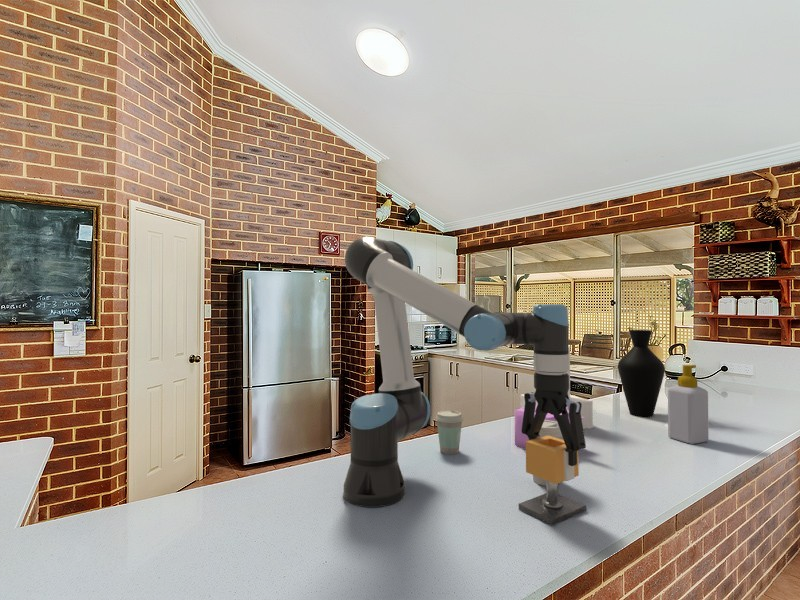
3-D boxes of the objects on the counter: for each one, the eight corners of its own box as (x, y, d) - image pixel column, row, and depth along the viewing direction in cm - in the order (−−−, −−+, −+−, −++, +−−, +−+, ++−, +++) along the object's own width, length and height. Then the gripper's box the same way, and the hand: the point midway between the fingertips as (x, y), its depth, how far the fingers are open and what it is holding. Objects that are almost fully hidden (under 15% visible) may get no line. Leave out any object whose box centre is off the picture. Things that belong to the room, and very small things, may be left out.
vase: (628, 407, 192) (627, 328, 192) (672, 415, 179) (671, 330, 179) (610, 414, 181) (610, 330, 181) (655, 422, 168) (654, 332, 168)
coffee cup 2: (540, 490, 108) (540, 430, 108) (520, 476, 117) (519, 420, 117) (573, 486, 111) (573, 427, 111) (551, 472, 120) (550, 417, 120)
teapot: (570, 463, 126) (570, 415, 126) (503, 441, 146) (502, 400, 147) (598, 452, 135) (597, 407, 136) (531, 433, 156) (530, 394, 156)
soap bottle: (710, 442, 145) (709, 366, 145) (692, 445, 141) (691, 368, 142) (684, 434, 153) (683, 363, 153) (666, 437, 150) (665, 364, 150)
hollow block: (555, 484, 93) (555, 451, 93) (526, 472, 99) (525, 441, 99) (578, 475, 97) (578, 444, 97) (548, 464, 104) (548, 435, 104)
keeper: (552, 525, 91) (551, 481, 91) (518, 509, 99) (518, 468, 99) (586, 510, 98) (585, 469, 98) (552, 495, 105) (552, 457, 105)
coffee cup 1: (462, 456, 132) (462, 417, 132) (434, 454, 134) (434, 415, 134) (463, 447, 141) (463, 410, 141) (437, 445, 142) (437, 409, 142)
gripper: (604, 376, 92) (605, 484, 92) (525, 365, 109) (526, 456, 109) (582, 380, 88) (583, 493, 87) (504, 368, 105) (505, 462, 105)
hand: (552, 472), depth 98 cm, fingers closed on hollow block, 8 cm apart
